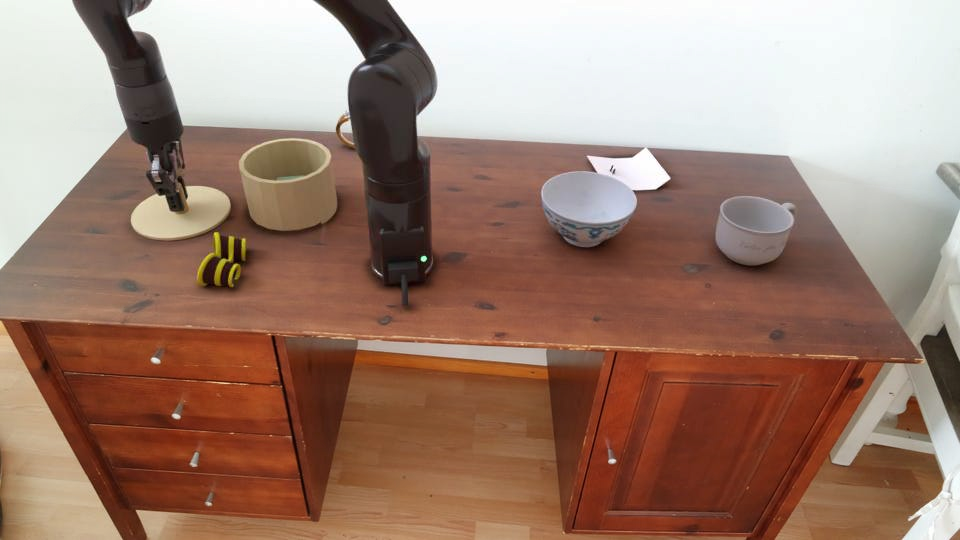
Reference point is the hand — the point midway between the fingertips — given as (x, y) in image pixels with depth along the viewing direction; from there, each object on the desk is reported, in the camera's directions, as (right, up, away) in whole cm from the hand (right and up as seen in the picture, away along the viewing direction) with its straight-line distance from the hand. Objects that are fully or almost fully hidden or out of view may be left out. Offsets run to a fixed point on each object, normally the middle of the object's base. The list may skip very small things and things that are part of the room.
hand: (179, 204), depth 108 cm
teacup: (+93, -8, -2) cm, 94 cm away
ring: (+25, +13, +21) cm, 35 cm away
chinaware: (+66, -5, +1) cm, 67 cm away
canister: (+18, 0, +4) cm, 18 cm away
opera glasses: (+11, -11, -9) cm, 19 cm away
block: (+18, 0, +4) cm, 18 cm away
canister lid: (0, -1, +1) cm, 2 cm away
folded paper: (+77, +7, +16) cm, 79 cm away
